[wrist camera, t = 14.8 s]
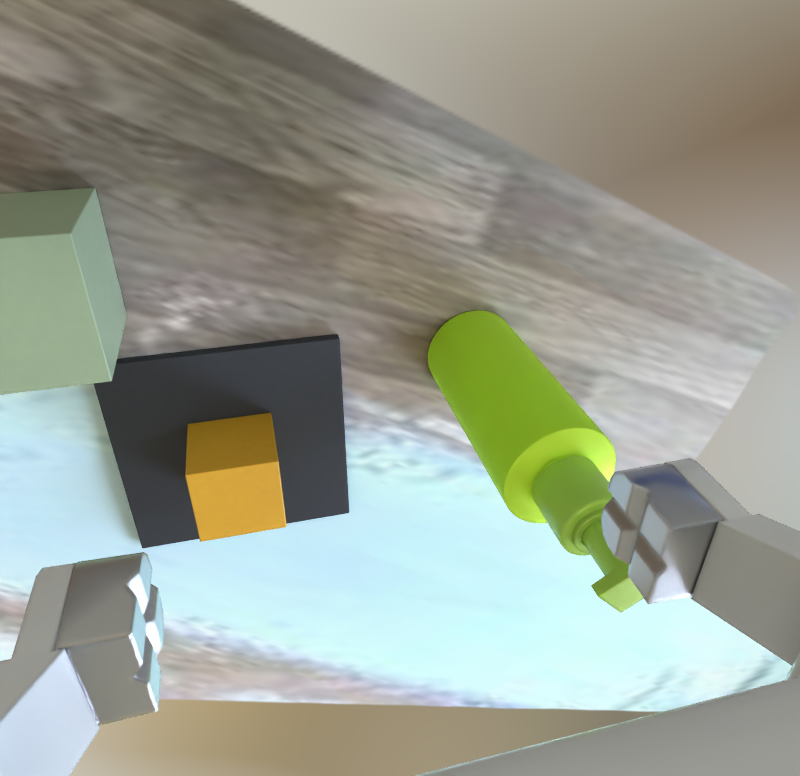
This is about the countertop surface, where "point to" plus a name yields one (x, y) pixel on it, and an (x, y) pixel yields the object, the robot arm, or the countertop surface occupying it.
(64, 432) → the countertop surface
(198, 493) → the top cube
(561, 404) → the soap dispenser
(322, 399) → the mat
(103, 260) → the base block
